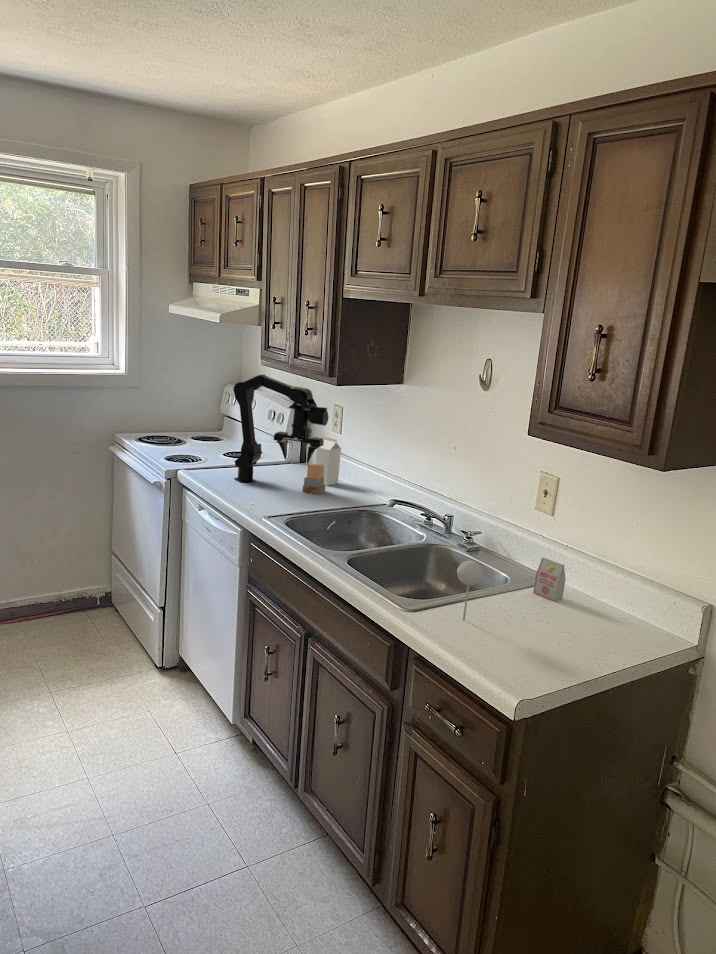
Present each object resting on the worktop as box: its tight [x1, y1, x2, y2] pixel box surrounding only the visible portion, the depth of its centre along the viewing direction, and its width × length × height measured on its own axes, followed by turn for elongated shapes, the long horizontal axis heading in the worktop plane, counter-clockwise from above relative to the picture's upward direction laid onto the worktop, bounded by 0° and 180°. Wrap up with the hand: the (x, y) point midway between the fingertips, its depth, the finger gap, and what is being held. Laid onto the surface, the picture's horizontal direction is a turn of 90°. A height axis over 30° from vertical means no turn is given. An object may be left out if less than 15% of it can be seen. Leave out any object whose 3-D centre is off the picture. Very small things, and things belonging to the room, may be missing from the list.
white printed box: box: [532, 556, 566, 603], centre depth 192 cm, size 4×7×10 cm, turn 40°
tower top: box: [303, 476, 324, 488], centre depth 279 cm, size 6×6×3 cm
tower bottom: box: [302, 484, 326, 496], centre depth 280 cm, size 7×7×3 cm
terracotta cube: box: [306, 462, 324, 480], centre depth 279 cm, size 5×5×5 cm
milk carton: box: [315, 436, 342, 487], centre depth 294 cm, size 7×7×19 cm
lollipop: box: [456, 560, 484, 621], centre depth 171 cm, size 6×6×15 cm
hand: (296, 460), depth 279 cm, fingers open, 9 cm apart
